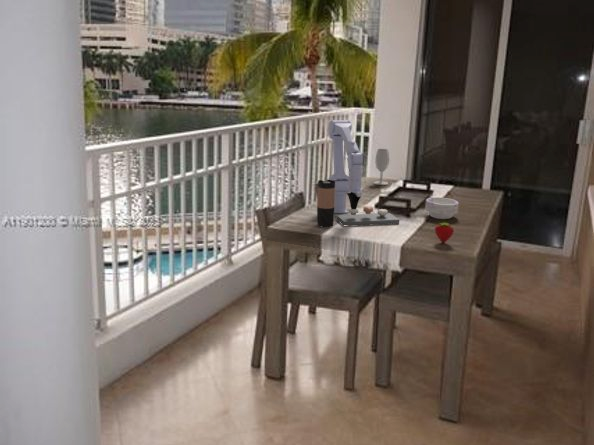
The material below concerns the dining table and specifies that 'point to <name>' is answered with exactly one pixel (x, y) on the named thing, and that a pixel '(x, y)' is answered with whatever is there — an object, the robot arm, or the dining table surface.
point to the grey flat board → (367, 219)
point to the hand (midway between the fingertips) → (353, 208)
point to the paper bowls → (441, 207)
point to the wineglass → (382, 164)
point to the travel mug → (325, 203)
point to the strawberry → (444, 231)
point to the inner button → (353, 211)
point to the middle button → (368, 210)
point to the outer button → (382, 212)
